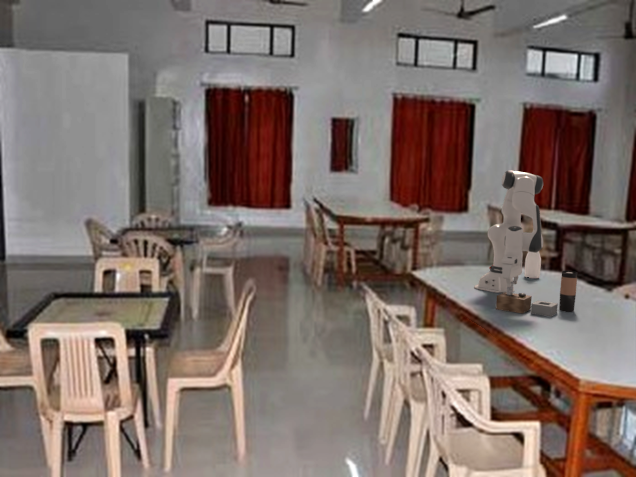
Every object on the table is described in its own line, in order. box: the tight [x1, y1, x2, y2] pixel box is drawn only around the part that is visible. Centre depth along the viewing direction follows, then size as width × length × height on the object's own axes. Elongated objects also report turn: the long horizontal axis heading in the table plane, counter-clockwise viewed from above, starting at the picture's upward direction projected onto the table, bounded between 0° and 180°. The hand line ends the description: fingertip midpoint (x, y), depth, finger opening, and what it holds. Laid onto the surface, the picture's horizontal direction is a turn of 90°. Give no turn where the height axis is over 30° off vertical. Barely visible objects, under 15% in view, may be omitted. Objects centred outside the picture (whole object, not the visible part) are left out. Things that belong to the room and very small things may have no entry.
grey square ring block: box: [530, 300, 559, 318], centre depth 355 cm, size 10×10×5 cm
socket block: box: [495, 292, 532, 314], centre depth 361 cm, size 14×12×7 cm
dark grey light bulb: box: [517, 292, 527, 298], centre depth 359 cm, size 4×4×8 cm
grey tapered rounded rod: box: [506, 281, 514, 296], centre depth 362 cm, size 3×3×14 cm
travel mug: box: [558, 270, 578, 313], centre depth 362 cm, size 8×8×20 cm
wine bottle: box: [523, 251, 542, 279], centre depth 452 cm, size 10×10×30 cm
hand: (511, 285), depth 361 cm, fingers open, 8 cm apart
